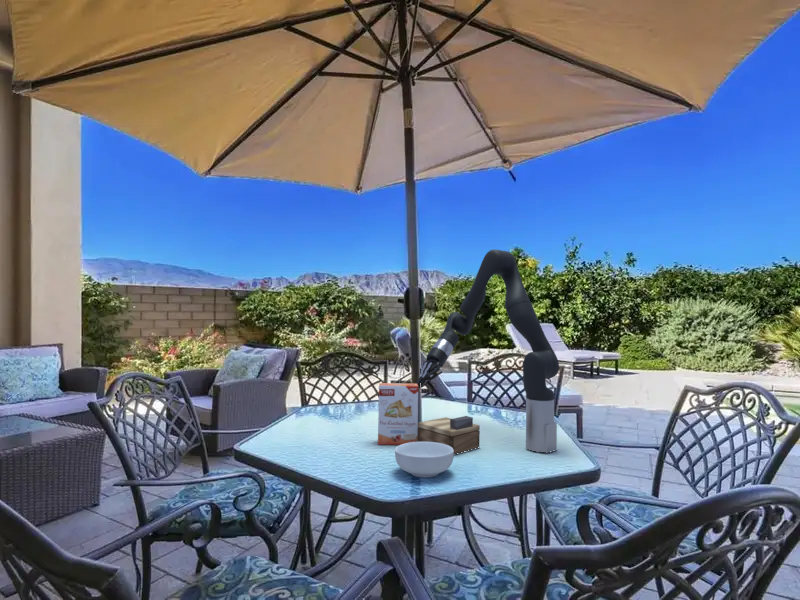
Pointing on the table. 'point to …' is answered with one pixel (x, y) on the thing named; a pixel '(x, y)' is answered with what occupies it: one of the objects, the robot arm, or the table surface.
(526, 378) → the robot arm
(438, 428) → the beige cabinet door
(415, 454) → the cereal bowl
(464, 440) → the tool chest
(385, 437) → the cracker box
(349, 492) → the table surface
